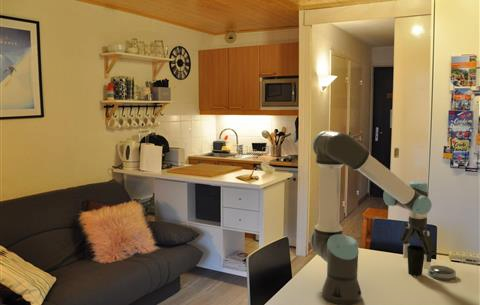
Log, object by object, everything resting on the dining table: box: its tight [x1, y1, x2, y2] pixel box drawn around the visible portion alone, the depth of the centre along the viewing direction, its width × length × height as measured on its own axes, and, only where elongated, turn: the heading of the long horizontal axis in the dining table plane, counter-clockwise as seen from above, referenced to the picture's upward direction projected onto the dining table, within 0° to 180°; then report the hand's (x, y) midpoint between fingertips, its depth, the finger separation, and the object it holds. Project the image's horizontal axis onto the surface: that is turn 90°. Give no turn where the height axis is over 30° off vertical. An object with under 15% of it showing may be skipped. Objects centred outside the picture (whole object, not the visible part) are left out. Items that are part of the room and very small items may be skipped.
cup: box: [407, 244, 426, 277], centre depth 191 cm, size 8×8×12 cm
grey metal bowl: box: [427, 265, 457, 282], centre depth 189 cm, size 11×11×3 cm
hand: (416, 262), depth 191 cm, fingers open, 13 cm apart
